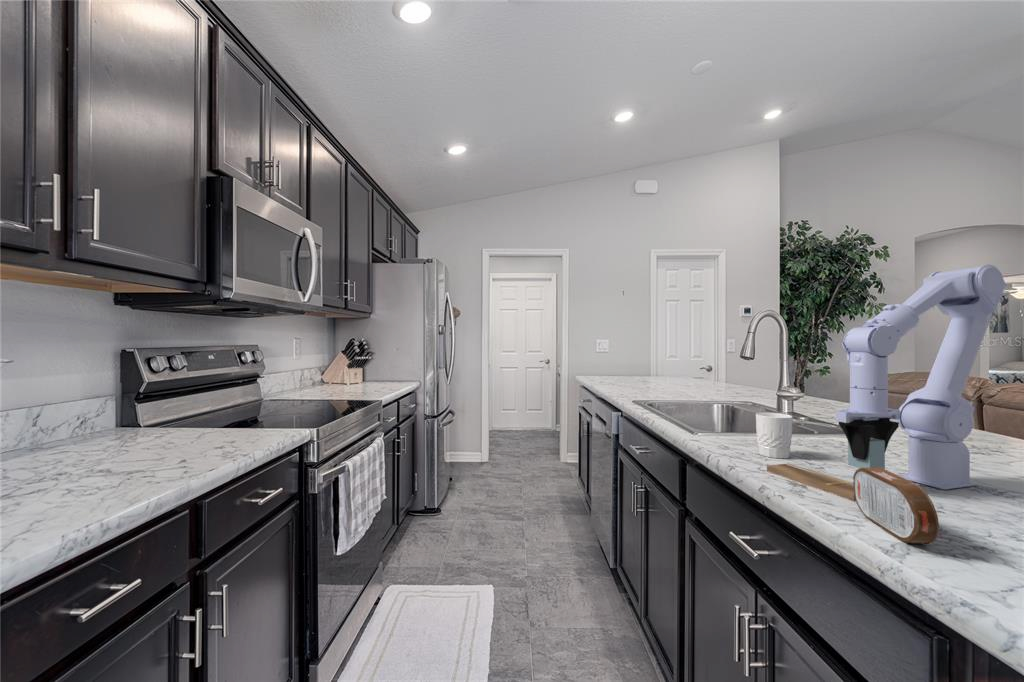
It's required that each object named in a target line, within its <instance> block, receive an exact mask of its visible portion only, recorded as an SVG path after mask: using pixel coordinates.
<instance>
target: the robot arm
mask: <svg viewBox="0 0 1024 682" xmlns="http://www.w3.org/2000/svg"><path fill="white" fill-rule="evenodd" d="M1005 287H1006V283H1005V280H1004V278H1003V274H1002V272H1001V271H1000V270H999V268H998V267H996V266H995V265H993V264H983V265H980V266H975V267H968V268H967V267H966V268H959V269H953V270H952V269H951V270H946V271H934V272H932V273H931V274H930V275H928V276H927V277H925V278H923V280H922V285H921V287H919V289H917V290H916V291H915V292H914V293H913V294H911V296H909V298H907V299H906V300H904V302H902V304H900V303H895V304H888V305H885V306H884V307H883V308H882V311H880V312H879V314H877V315H875V316H874V317H873V318H870V319H868V320H866V322H865V324H863V325H862V326H860V327H852V328H851V329H850V330H849V331H848V332H846V333H845V335H844V338H843V340H841V346H842V350H843V351H844V352H845V354H846V361H847V364H849V407H844V409H843V410H838V411H837V410H836V411H835V422H837V423H838V426H839V427H840V428H841V430H842V432H843V433H844V435H845V437H846V440H847V443H848V442H849V445H850V449H851V452H852V455H853V457H854V458H858V459H862V460H866V459H867V456H868V449H869V442H870V438H874V439H879V440H884V441H885V453H886V451H887V448H888V445H889V443H890V440H891V438H892V437H893V435H894V434H895V432H896V431H897V429H898V428H899V427H900V428H901V429H903V430H904V435H907V436H908V460H907V461H908V473H904V474H903V473H902V474H897V475H898V476H900V477H903V478H905V479H907V480H909V481H911V482H914V483H916V484H917V483H918V484H922V485H925V486H929V487H933V488H937V489H940V490H951V489H959V488H966V487H972V486H977V483H976V482H973V481H970V478H971V477H970V476H971V475H970V473H971V472H970V471H971V470H970V469H971V465H970V464H971V462H970V461H971V460H970V458H971V454H970V450H969V448H968V446H967V445H966V444H965V443H964V439H966V438H967V437H969V435H970V434H971V433H972V430H973V426H974V424H973V416H974V415H973V414H974V412H975V409H976V408H975V407H974V405H972V404H971V403H970V402H969V401H968V400H967V399H966V398H965V397H963V395H962V394H963V392H964V388H965V386H966V385H967V384H966V383H967V381H968V380H969V377H970V375H971V372H972V369H973V366H974V364H975V361H976V358H977V356H978V353H979V351H980V348H981V346H982V343H983V340H984V337H985V335H986V332H987V330H988V328H989V325H990V322H991V320H992V317H993V313H994V312H995V311H997V310H998V309H997V308H998V306H999V303H1000V301H1001V298H1002V296H1003V294H1004V291H1005ZM934 307H937V309H938V310H939V311H940V312H941V313H942V314H943V315H946V316H949V317H950V319H951V320H950V322H949V325H948V327H947V330H946V332H945V335H944V338H943V339H942V343H941V345H940V347H939V351H938V352H937V356H936V358H935V361H934V363H933V366H932V368H931V370H930V373H929V376H928V378H927V380H926V384H925V386H924V387H922V388H920V389H917V390H915V391H913V392H911V393H909V394H908V396H907V398H906V400H905V401H904V403H902V404H901V405H900V407H899V408H898V409H896V408H889V407H888V406H889V405H888V404H889V403H888V402H889V401H888V400H889V395H888V394H889V391H888V390H889V385H888V384H889V379H888V378H889V372H888V371H889V356H890V355H892V354H894V353H895V351H896V350H897V348H898V343H899V342H900V341H901V339H902V337H904V336H905V335H906V334H908V333H909V332H910V331H913V330H914V328H915V327H917V326H918V325H919V323H920V316H921V315H923V314H924V313H926V312H927V311H929V310H930V309H933V308H934ZM892 420H897V421H892Z"/></svg>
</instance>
